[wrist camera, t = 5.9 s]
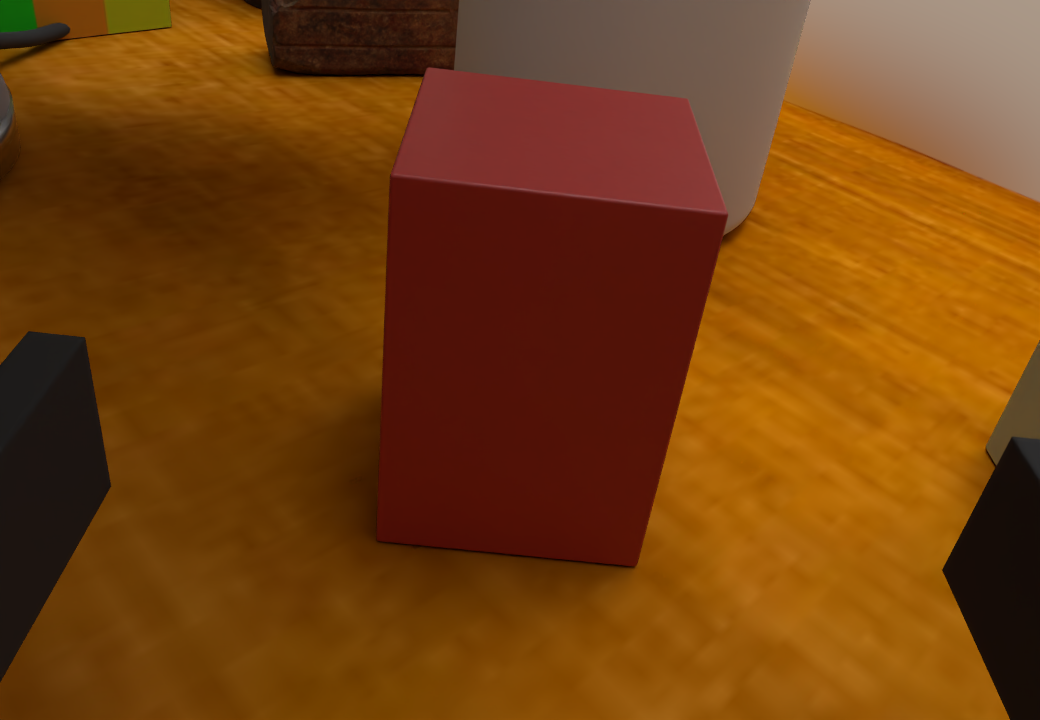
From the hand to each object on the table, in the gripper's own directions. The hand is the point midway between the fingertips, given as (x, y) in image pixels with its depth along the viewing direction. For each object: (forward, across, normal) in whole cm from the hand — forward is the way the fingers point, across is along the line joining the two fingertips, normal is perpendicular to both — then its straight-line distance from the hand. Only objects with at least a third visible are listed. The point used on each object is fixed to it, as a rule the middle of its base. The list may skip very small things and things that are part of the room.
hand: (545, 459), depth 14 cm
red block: (+8, 0, -7) cm, 10 cm away
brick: (+38, -8, -7) cm, 39 cm away
